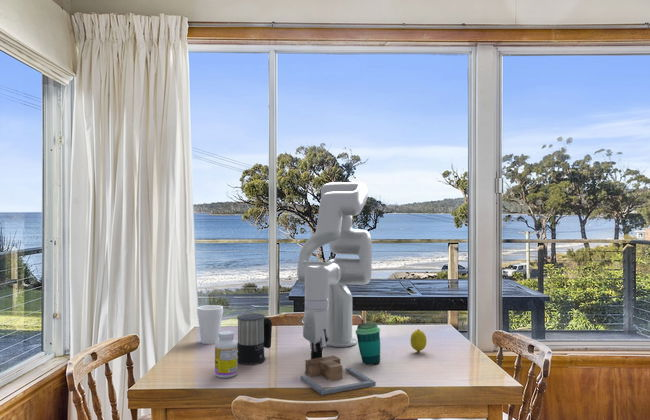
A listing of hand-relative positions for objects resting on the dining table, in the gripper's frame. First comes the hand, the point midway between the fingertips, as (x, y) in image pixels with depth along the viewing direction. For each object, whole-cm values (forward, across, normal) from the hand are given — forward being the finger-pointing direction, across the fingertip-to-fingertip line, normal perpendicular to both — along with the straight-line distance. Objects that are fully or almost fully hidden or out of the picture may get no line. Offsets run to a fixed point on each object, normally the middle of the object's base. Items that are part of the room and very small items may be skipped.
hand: (316, 363), depth 157 cm
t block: (+2, +7, 0) cm, 7 cm away
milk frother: (+2, -21, -17) cm, 27 cm away
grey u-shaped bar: (+2, +13, 0) cm, 13 cm away
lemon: (+2, -1, +40) cm, 40 cm away
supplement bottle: (+2, -6, -27) cm, 28 cm away
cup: (+2, +1, +18) cm, 18 cm away
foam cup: (+2, -47, -22) cm, 52 cm away
